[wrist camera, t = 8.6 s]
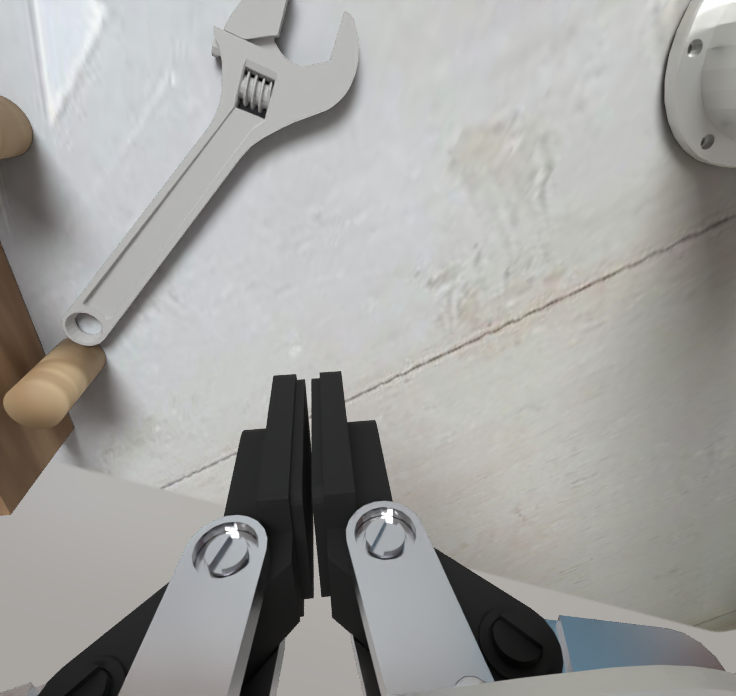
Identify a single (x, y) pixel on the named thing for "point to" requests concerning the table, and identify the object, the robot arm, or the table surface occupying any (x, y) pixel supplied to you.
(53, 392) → the tool rack
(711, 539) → the table surface
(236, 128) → the adjustable wrench
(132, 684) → the robot arm
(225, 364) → the table surface
